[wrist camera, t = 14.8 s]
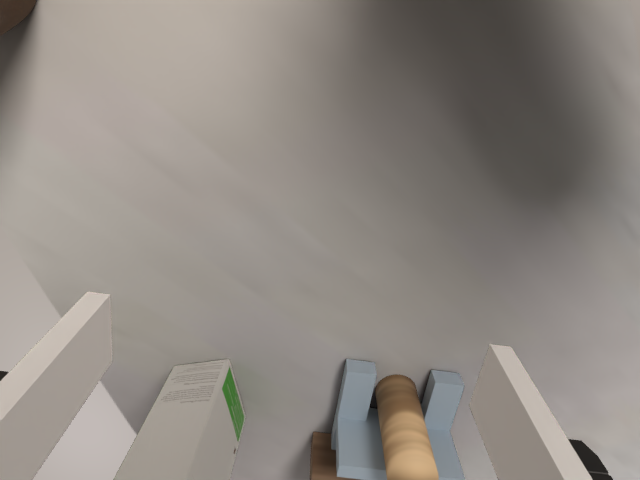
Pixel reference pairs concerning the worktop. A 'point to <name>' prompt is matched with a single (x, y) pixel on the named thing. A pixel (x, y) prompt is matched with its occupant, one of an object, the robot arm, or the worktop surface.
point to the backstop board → (323, 459)
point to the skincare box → (189, 427)
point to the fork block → (364, 429)
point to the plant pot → (13, 13)
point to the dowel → (404, 431)
